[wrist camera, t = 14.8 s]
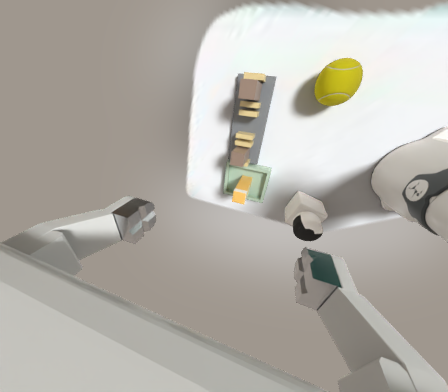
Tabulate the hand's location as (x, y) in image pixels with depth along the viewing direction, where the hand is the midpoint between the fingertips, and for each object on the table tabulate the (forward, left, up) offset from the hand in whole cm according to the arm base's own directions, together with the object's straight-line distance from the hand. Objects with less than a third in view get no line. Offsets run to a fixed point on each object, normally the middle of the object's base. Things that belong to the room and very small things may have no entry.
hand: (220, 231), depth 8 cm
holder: (+5, -1, -37) cm, 37 cm away
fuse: (+3, +14, -36) cm, 39 cm away
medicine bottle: (-14, +18, -37) cm, 44 cm away
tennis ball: (-10, -10, -37) cm, 40 cm away
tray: (+3, +14, -37) cm, 40 cm away
